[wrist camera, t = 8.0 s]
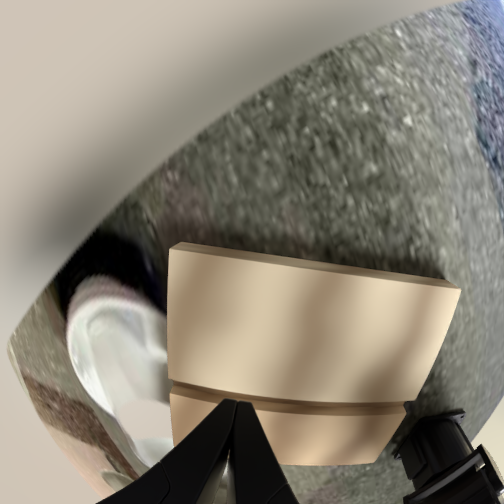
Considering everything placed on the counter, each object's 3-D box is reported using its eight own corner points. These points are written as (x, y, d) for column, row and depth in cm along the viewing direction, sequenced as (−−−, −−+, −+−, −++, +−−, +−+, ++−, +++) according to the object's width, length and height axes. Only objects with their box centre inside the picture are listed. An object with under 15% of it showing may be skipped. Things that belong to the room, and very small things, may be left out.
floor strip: (401, 393, 18) (409, 408, 16) (369, 447, 20) (373, 462, 18) (177, 372, 19) (169, 388, 17) (179, 431, 21) (173, 446, 19)
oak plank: (446, 279, 16) (461, 289, 14) (406, 385, 18) (415, 400, 16) (180, 241, 17) (169, 248, 15) (176, 362, 19) (168, 378, 17)
